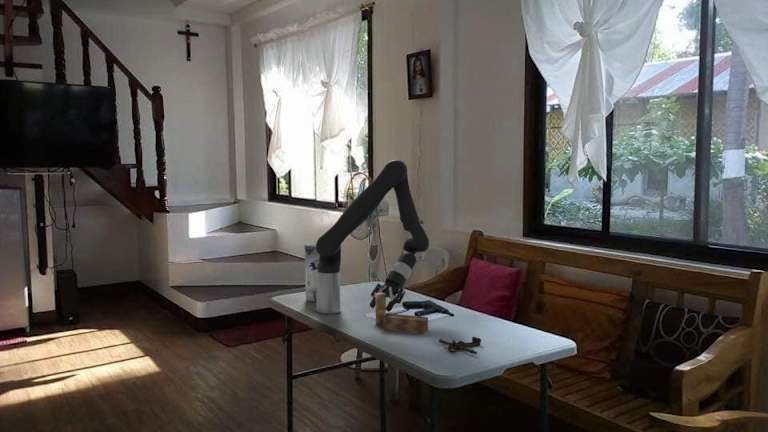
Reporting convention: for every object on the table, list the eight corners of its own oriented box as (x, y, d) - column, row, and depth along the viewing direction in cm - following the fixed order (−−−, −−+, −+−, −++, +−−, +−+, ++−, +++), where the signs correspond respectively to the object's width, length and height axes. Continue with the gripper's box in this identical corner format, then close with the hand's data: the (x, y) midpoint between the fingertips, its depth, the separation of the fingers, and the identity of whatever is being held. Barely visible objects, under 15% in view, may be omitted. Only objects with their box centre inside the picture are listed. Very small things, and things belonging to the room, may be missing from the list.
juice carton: (302, 300, 281) (301, 242, 279) (319, 296, 289) (318, 239, 287) (316, 303, 276) (315, 243, 273) (332, 299, 283) (332, 241, 281)
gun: (423, 322, 247) (455, 318, 254) (423, 316, 247) (455, 311, 253) (397, 307, 269) (428, 303, 275) (398, 301, 268) (428, 297, 275)
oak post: (374, 324, 240) (373, 294, 239) (378, 322, 244) (377, 292, 242) (383, 325, 238) (383, 295, 237) (387, 323, 242) (387, 293, 241)
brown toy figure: (497, 342, 207) (467, 346, 198) (496, 355, 207) (466, 360, 198) (459, 331, 221) (429, 334, 212) (458, 342, 221) (428, 346, 212)
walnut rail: (383, 329, 233) (383, 316, 233) (388, 326, 238) (388, 313, 238) (423, 333, 227) (423, 320, 227) (427, 330, 232) (427, 317, 231)
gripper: (381, 267, 250) (361, 300, 242) (407, 272, 240) (388, 306, 233) (389, 278, 254) (370, 311, 247) (416, 283, 244) (397, 317, 237)
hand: (379, 308), depth 240 cm, fingers open, 8 cm apart
